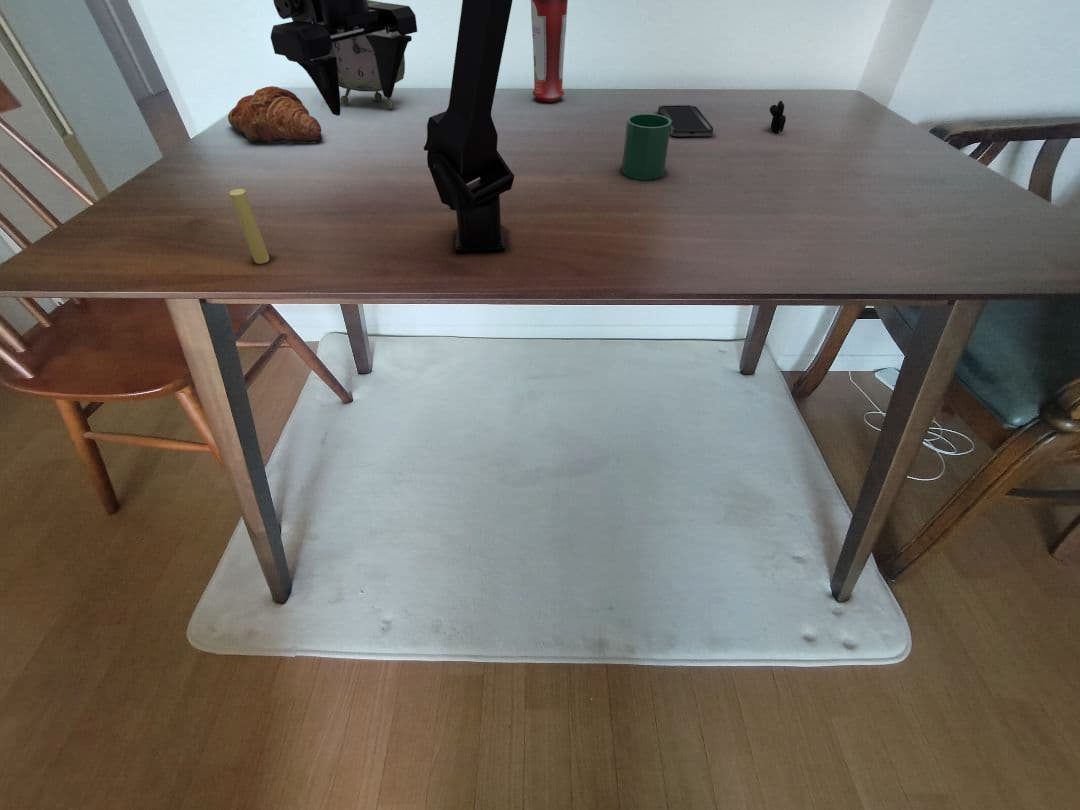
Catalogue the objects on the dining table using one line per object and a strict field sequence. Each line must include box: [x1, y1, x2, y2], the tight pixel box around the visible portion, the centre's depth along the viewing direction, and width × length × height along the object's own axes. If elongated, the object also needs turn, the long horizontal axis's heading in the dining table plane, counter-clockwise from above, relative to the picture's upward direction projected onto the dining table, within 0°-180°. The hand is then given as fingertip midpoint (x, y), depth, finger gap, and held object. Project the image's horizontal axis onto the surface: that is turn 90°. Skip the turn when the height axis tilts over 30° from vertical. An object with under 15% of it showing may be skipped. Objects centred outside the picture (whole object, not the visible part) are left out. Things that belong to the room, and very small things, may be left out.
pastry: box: [227, 85, 323, 144], centre depth 105 cm, size 17×15×8 cm
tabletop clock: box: [318, 0, 406, 110], centre depth 114 cm, size 14×9×25 cm, turn 73°
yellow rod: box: [229, 188, 270, 265], centre depth 71 cm, size 2×2×9 cm
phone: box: [657, 104, 714, 138], centre depth 112 cm, size 8×1×15 cm
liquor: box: [530, 0, 569, 104], centre depth 115 cm, size 7×7×28 cm
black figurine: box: [769, 100, 787, 133], centre depth 109 cm, size 7×2×5 cm, turn 175°
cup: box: [621, 113, 671, 181], centre depth 93 cm, size 7×7×8 cm
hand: (363, 105), depth 76 cm, fingers open, 9 cm apart
